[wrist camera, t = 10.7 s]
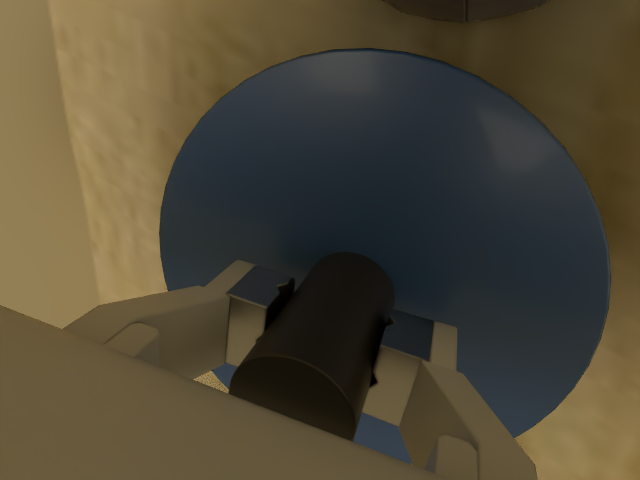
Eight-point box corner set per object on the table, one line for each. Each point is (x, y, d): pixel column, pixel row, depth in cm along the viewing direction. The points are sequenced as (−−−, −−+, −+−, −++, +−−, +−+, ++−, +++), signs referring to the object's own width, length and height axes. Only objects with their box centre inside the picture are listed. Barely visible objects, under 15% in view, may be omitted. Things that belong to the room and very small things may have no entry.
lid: (187, 13, 11) (-38, -31, 6) (700, 105, 9) (1021, 157, 4) (178, 363, 16) (49, 496, 11) (500, 485, 14) (521, 728, 9)
